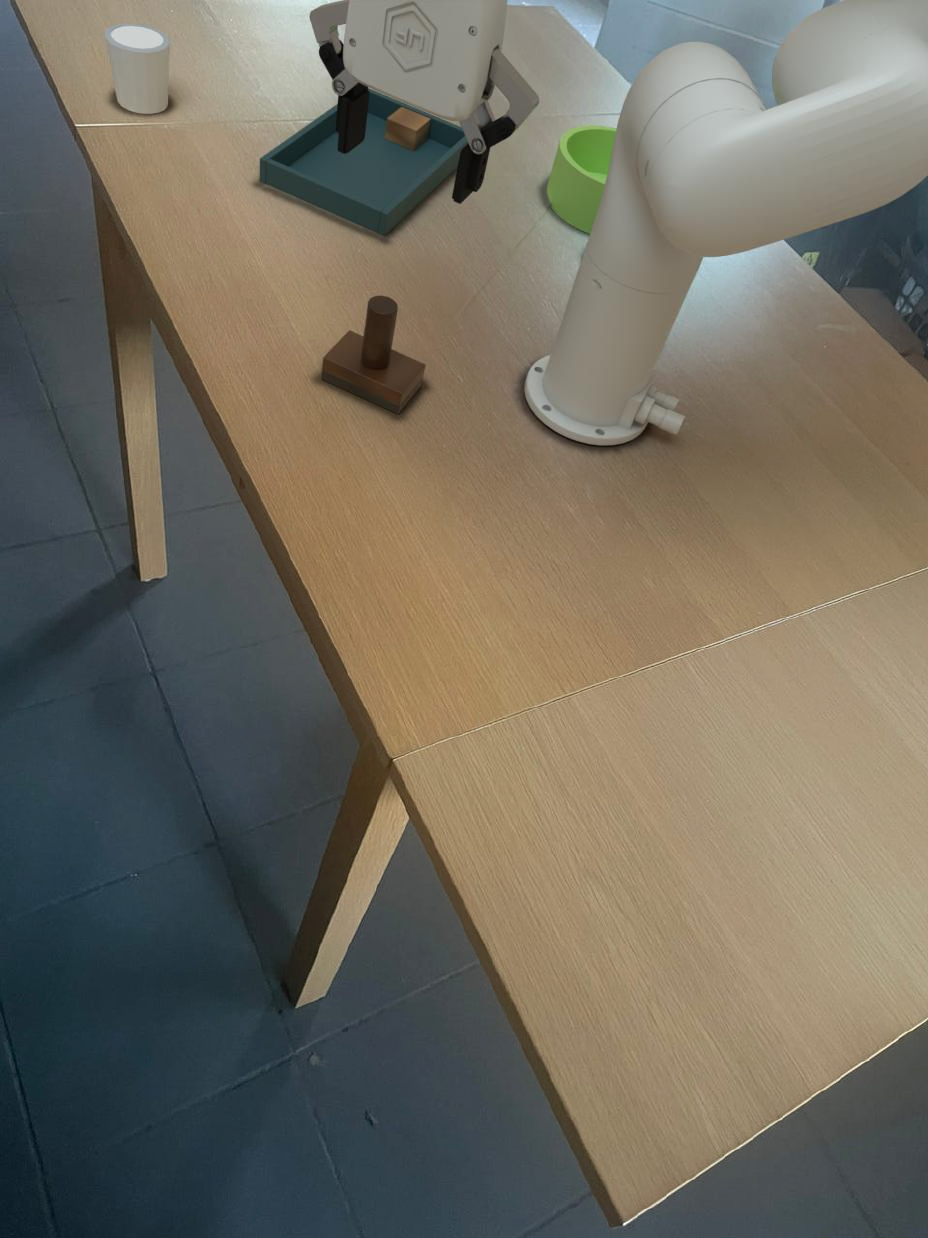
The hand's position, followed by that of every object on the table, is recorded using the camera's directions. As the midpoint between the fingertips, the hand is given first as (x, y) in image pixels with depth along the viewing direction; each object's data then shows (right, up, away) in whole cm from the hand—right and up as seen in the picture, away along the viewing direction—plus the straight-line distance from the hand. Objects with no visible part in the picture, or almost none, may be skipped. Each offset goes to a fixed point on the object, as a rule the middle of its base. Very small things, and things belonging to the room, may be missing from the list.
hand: (406, 170), depth 70 cm
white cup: (-33, +26, +37) cm, 56 cm away
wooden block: (-3, +25, +43) cm, 50 cm away
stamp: (-4, -12, +16) cm, 20 cm away
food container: (+22, +12, +40) cm, 48 cm away
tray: (-7, +19, +38) cm, 43 cm away
